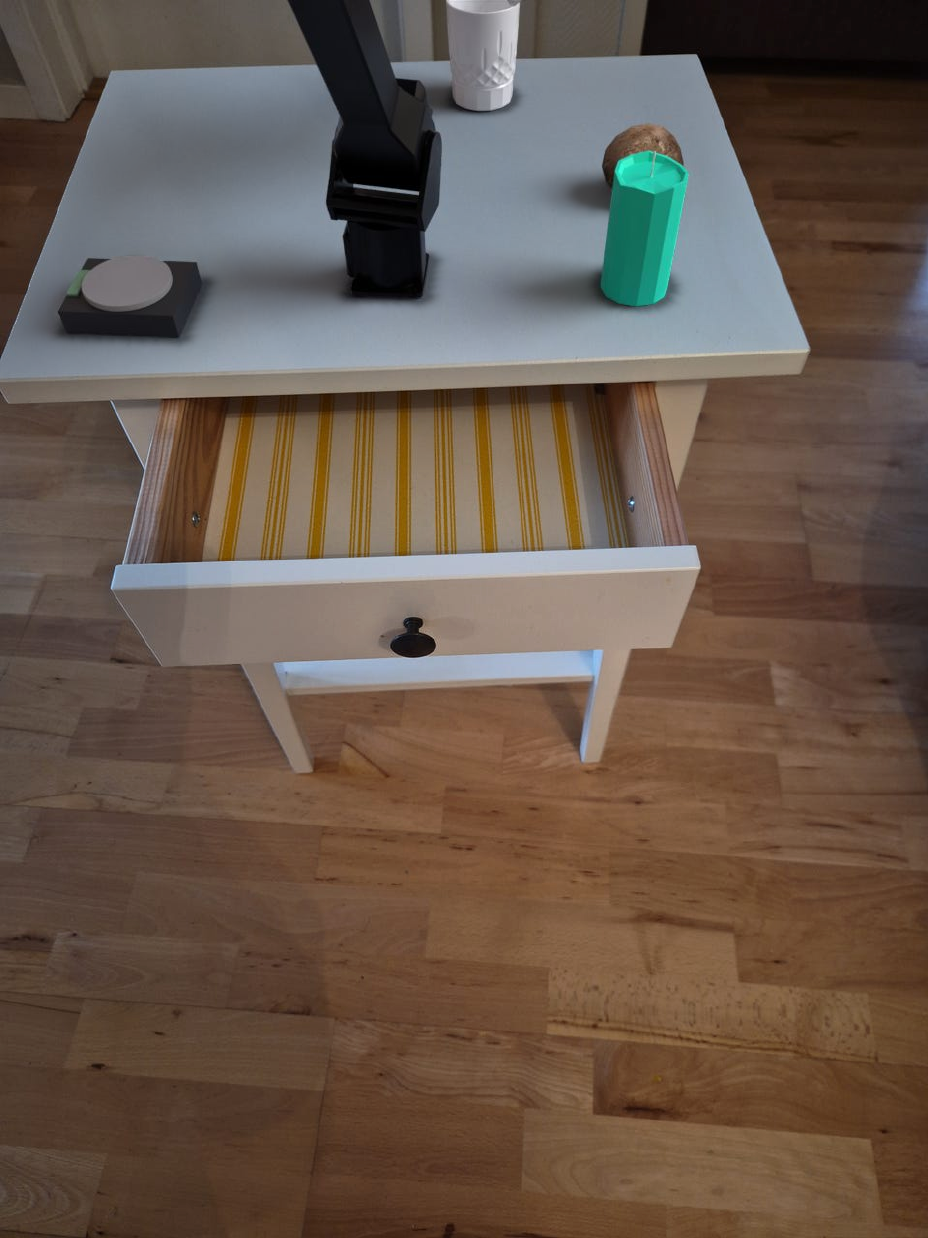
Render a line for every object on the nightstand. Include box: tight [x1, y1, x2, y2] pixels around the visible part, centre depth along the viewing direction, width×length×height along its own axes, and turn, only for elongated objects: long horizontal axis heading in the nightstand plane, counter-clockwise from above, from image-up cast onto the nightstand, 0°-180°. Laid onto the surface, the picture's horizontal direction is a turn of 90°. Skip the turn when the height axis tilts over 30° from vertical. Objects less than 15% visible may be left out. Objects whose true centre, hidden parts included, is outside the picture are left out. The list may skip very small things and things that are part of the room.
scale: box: [56, 254, 203, 339], centre depth 79 cm, size 10×8×3 cm
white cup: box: [445, 0, 521, 112], centre depth 99 cm, size 8×8×10 cm
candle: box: [599, 151, 690, 308], centre depth 76 cm, size 6×6×12 cm
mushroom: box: [601, 122, 685, 191], centre depth 89 cm, size 8×8×6 cm
